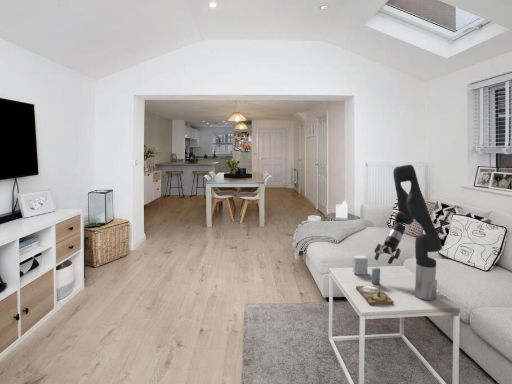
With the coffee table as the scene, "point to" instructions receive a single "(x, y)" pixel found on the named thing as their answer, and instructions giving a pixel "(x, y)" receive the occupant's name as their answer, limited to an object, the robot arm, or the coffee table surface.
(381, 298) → the gear board
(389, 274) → the coffee table surface
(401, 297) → the coffee table surface
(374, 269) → the blue-grey cylinder
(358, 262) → the small box
